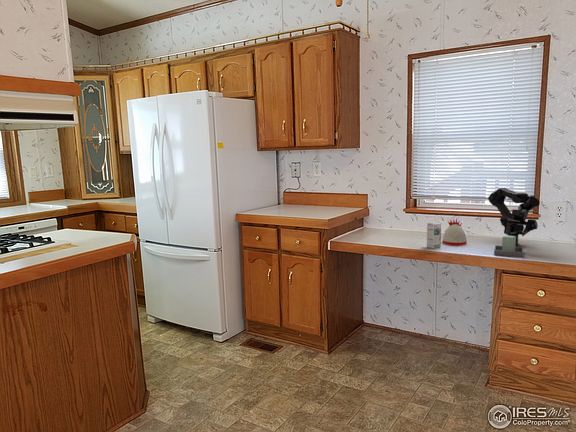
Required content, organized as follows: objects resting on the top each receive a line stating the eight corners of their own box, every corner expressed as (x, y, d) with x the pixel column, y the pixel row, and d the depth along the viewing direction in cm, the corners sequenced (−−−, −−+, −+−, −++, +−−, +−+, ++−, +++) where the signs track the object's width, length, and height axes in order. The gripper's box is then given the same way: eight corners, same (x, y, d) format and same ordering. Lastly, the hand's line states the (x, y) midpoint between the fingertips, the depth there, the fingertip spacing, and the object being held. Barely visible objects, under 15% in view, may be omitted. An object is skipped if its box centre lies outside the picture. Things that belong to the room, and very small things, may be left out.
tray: (494, 249, 255) (495, 245, 255) (522, 251, 249) (522, 247, 249) (494, 255, 243) (494, 250, 243) (523, 257, 237) (523, 252, 237)
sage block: (501, 252, 246) (502, 236, 245) (505, 251, 250) (506, 235, 248) (511, 254, 243) (512, 237, 241) (514, 252, 246) (515, 236, 245)
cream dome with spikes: (442, 240, 284) (443, 216, 282) (466, 241, 280) (467, 217, 277) (442, 244, 271) (443, 220, 269) (466, 246, 267) (467, 221, 264)
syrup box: (433, 248, 262) (433, 223, 260) (426, 246, 267) (426, 222, 265) (440, 247, 264) (441, 223, 262) (433, 245, 269) (434, 221, 267)
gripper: (502, 202, 257) (492, 224, 252) (537, 205, 244) (528, 227, 238) (506, 214, 264) (498, 235, 258) (541, 217, 250) (532, 240, 245)
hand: (513, 234), depth 250 cm, fingers open, 9 cm apart
